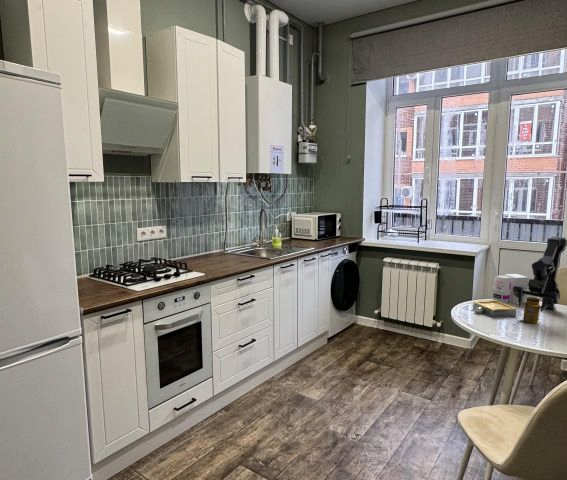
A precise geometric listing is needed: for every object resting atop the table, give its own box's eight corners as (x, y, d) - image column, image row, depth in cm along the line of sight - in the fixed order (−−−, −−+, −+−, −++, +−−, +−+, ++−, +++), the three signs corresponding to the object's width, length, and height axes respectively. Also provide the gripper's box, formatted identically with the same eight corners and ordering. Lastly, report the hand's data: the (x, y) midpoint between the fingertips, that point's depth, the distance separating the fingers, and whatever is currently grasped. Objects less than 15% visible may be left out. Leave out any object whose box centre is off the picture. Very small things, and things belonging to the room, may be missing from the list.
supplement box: (501, 299, 232) (503, 274, 230) (513, 298, 235) (516, 273, 233) (513, 303, 224) (516, 277, 222) (526, 303, 226) (529, 277, 224)
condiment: (541, 323, 192) (544, 299, 190) (532, 326, 187) (535, 301, 186) (525, 318, 198) (528, 295, 196) (516, 321, 193) (519, 297, 192)
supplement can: (508, 302, 227) (510, 276, 225) (509, 305, 219) (512, 279, 217) (492, 299, 230) (494, 274, 228) (492, 303, 223) (495, 277, 221)
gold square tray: (494, 307, 216) (495, 300, 215) (515, 315, 202) (516, 308, 202) (466, 309, 211) (467, 301, 210) (486, 317, 198) (486, 310, 197)
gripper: (515, 269, 199) (505, 295, 193) (560, 276, 186) (551, 303, 179) (519, 282, 205) (509, 307, 199) (562, 290, 192) (553, 317, 186)
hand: (530, 308), depth 191 cm, fingers open, 9 cm apart
